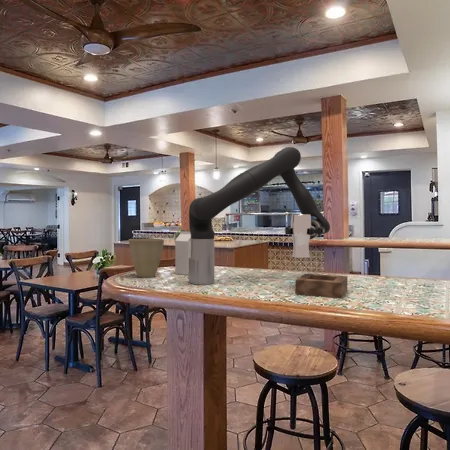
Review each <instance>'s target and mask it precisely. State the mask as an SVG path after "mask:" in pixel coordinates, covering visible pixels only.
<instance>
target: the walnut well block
mask: <svg viewBox="0 0 450 450" xmlns="http://www.w3.org/2000/svg"><path fill="white" fill-rule="evenodd" d="M347 292H348V276H347V275H333V274H332V275H331V274H320V273H317V274H316V273H304V274H301V276H299V277H297V278H295V292H294V293H295V295H297V296H299V295H300V296H309V297H319V296H321V297H320V298H322V297H323V298H331V297H332V299H343V297H344V296H345V295H346V293H347Z"/></svg>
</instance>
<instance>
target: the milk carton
mask: <svg viewBox="0 0 450 450" xmlns="http://www.w3.org/2000/svg"><path fill="white" fill-rule="evenodd" d="M174 243H175V244H174V246H175V247H174V248H175V249H174V253H175V255H174V257H175V258H174V259H175V261H174V263H175V266H174V267H175V268H174V271H175V275H185V276H189V258H191V233H190V231H179V235H178V236H177V237H176V239H175V240H174Z"/></svg>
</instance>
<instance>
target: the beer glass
mask: <svg viewBox="0 0 450 450" xmlns="http://www.w3.org/2000/svg"><path fill="white" fill-rule="evenodd" d="M290 218H291V219H290V227H291V233H292V235H291V237H292V238H291V239H292V243H293V244H292V245H293V246H292V247H293V250H292V256H291V257H292V258H296V259H298V258H299V259H308V258H310V257H311V255H310V247H309V246H310V240H311V239H310V235H309V229H310V228H311V220H312V216H311V214H301V213H299V214H298V213H297V214H294V213H293V214H291V217H290Z"/></svg>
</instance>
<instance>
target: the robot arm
mask: <svg viewBox="0 0 450 450" xmlns="http://www.w3.org/2000/svg"><path fill="white" fill-rule="evenodd" d="M301 155H302V154H301V151H299V149H298V148H296V147H293V146H288V147H287V146H286V147H284V148H282V149H281V150H279V151H277V152H276V153H275V154H274V155H273V157H271V158H270V159H267V160H266V161H264V162H261V163H259V164H256V165H254V166H253V167H251V168H248V169H246V170H244V171H243V172H241V173H240V174H237V175H236V176H234V177H233V178H232V179H231V180H230V181H229V182H227V184H225V185H224V186H223V187H222V188H220V189H218V190H217V191H215V192H213V193H211V194H209V195H206V196H201V197H197V198H194V199H193V200H192V201H191V202H190V205H189V210H188V224H189V228H188V229H189V232H190V233H191V258H189V275H188V283H191V284H193V285H210V284H214V283H215V231H214V228H213V223H212V222H213V221H212V220H213V219H214V218H215V217H217V216H218V215H219V214H220V213H222V212H223V211H225V210H226V209H228V207H230V206H232V205H234V204H235V203H238V202H240V201H241V200H244V199H245V198H248V197H249V196H250V195H252V194H254V193H256V192H257V191H259V190H260V189H262V188H263V187H264V186H265V185H267V184H269V182H271V181H272V180H273V179H275V178H276V177H278V176H280V177H281V179H282V180H283V181H284V183H285V184H286V186H287V188H288V189H289V191H290V192H291V195H292V197H293V198H294V201H295V203H296V205H297V207H298V210H299V212H300V214H311V217H315V218H314V219H311V228H310V229H309V235H310V240H312V239H315V238H317V237H319V236H322V235H324V234H327V233H328V232H330V230H331V226H330V225H331V224H330V222H329V221H328V219H327V218H326V217H325V216H324V214H323V213H322V212H321V211H320V210H319V209H318V206H317V204H316V202H315V200H314V198H313V196H312V194H311V192H310V191H309V189H308V188H307V187H306V186H305V185H304V184H303V183H302V181H301V180H300V179H299V177H298V176H297V175H298V174H297V173H296V170H295V168H296V167H298V165H299V164H300V162H301V160H302V159H301V158H302V156H301ZM284 232H285V233H284V234H285V235H289V236H292V233H291V225H290V226H285V229H284Z"/></svg>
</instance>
